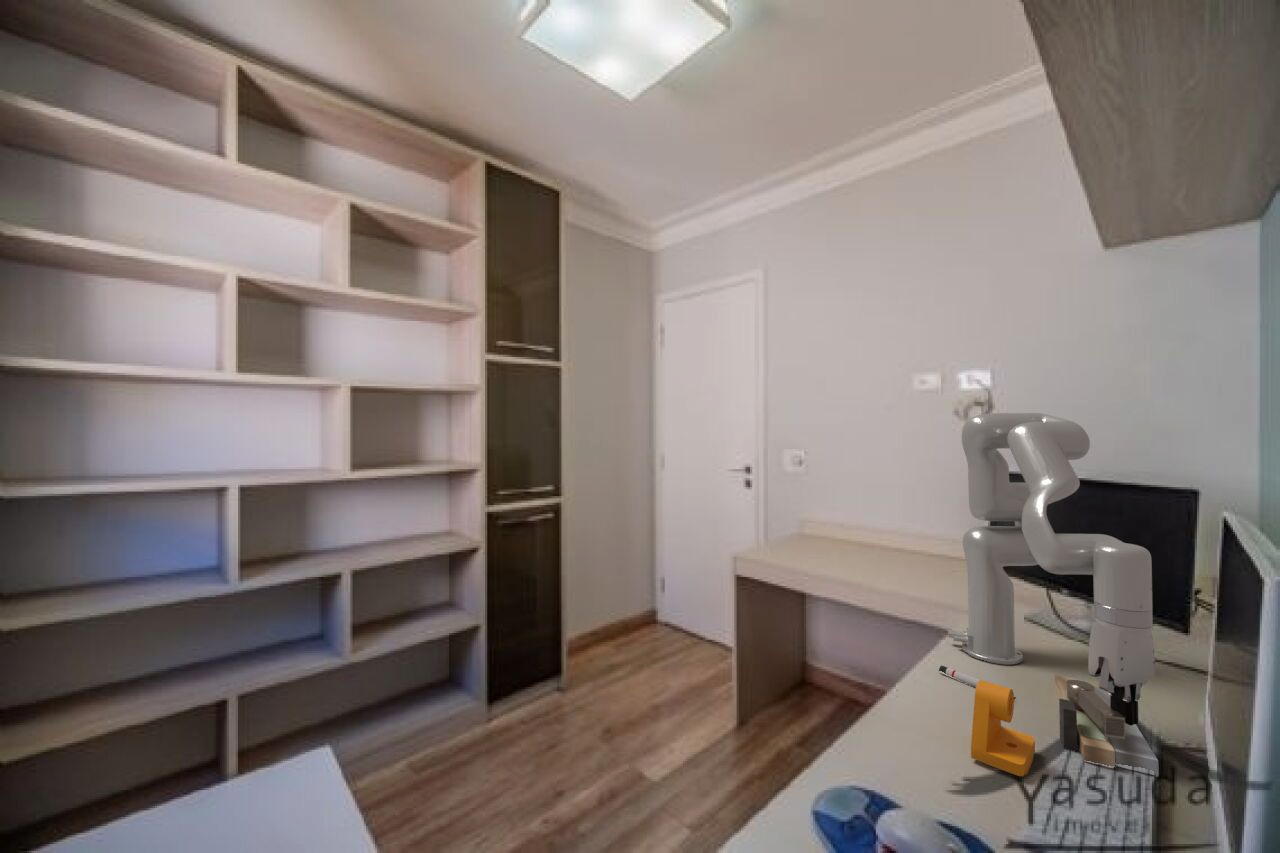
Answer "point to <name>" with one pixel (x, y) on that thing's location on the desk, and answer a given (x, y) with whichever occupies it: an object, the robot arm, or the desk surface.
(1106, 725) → the door handle
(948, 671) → the marker
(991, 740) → the bracket
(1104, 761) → the doorframe
